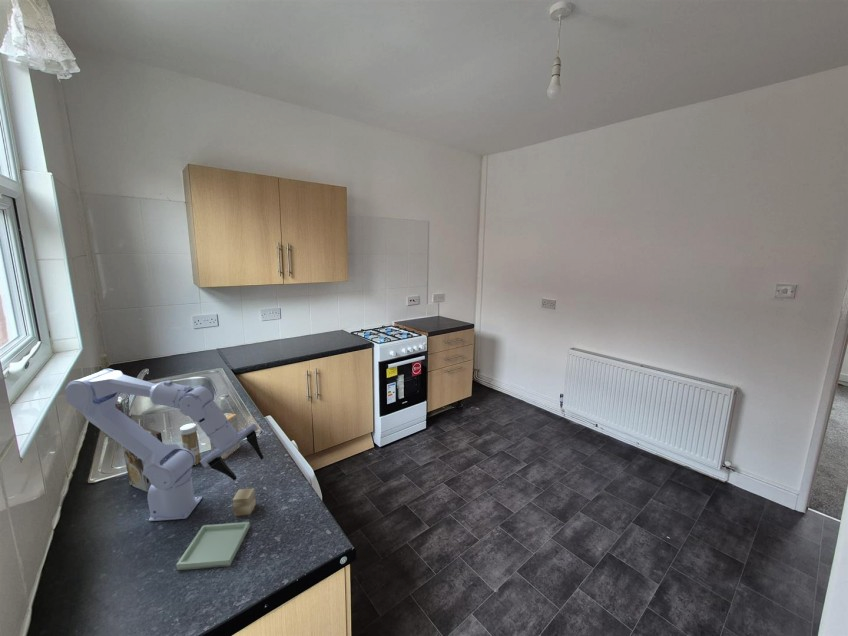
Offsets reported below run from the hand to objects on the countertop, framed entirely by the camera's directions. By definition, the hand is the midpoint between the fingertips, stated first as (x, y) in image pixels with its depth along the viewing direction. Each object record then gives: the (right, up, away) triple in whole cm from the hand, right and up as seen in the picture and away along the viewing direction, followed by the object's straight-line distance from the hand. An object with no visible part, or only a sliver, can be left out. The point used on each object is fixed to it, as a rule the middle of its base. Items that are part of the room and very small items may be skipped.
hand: (249, 468), depth 93 cm
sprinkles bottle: (-30, -8, +23) cm, 38 cm away
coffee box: (-37, -10, +13) cm, 41 cm away
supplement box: (-22, -7, +28) cm, 37 cm away
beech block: (-2, -12, +2) cm, 12 cm away
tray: (-3, -14, -10) cm, 18 cm away
